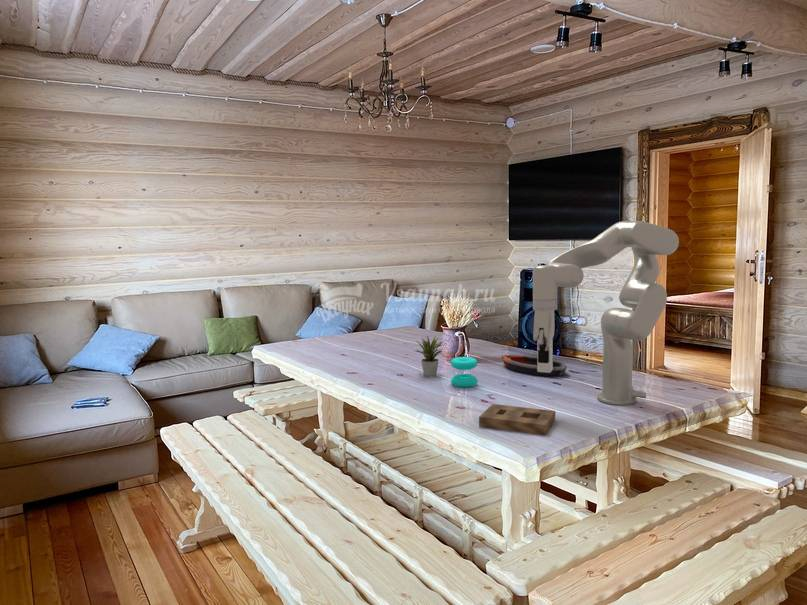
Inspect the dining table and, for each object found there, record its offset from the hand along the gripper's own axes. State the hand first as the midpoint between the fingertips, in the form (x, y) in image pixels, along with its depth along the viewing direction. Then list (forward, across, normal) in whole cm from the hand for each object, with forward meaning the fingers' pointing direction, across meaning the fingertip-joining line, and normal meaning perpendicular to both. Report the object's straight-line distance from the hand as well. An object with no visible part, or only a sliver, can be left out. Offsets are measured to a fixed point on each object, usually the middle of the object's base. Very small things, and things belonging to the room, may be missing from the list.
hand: (544, 360), depth 192 cm
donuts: (+17, -22, -35) cm, 45 cm away
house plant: (+17, -30, -52) cm, 62 cm away
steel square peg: (+3, 0, 0) cm, 3 cm away
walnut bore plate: (+17, +14, -5) cm, 23 cm away
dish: (+18, -53, -16) cm, 58 cm away
